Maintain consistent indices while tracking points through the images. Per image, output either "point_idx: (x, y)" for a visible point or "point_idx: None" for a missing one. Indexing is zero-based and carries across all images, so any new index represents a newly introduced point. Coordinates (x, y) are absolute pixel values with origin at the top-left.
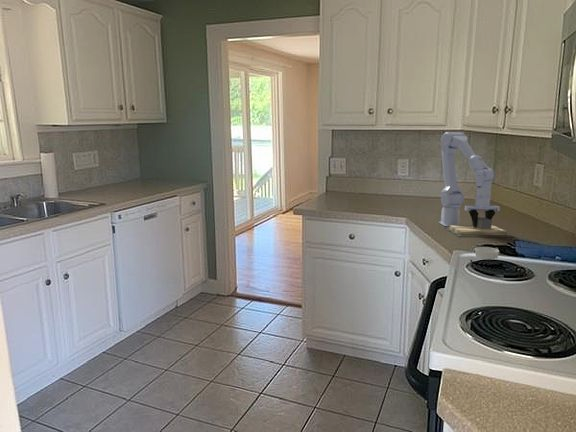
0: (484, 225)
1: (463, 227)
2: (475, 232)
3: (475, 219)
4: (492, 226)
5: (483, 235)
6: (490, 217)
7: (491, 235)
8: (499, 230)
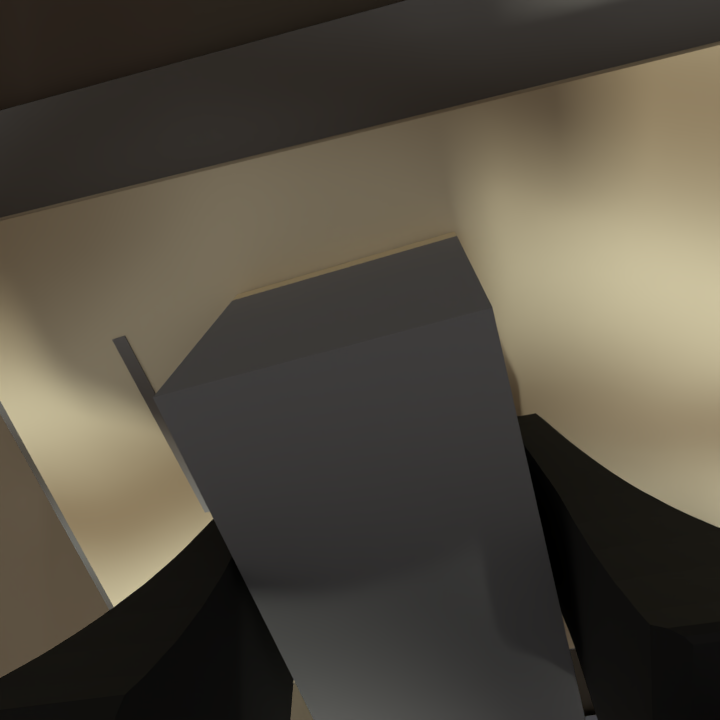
0: (380, 284)
1: (717, 467)
2: (607, 71)
3: (612, 495)
4: None
5: (418, 72)
6: (171, 596)
7: (253, 117)
8: (72, 336)
